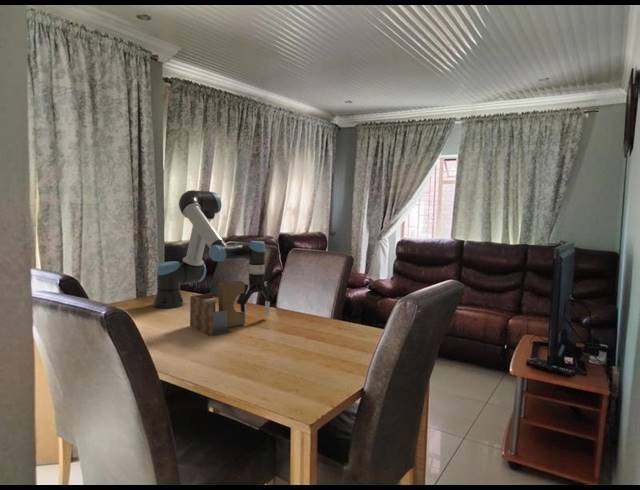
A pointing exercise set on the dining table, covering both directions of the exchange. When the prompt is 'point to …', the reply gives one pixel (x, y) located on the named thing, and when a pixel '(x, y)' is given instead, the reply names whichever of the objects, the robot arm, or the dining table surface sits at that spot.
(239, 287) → the decorative block
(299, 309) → the dining table surface
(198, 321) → the wooden grain block
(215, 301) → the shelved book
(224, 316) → the bookend
